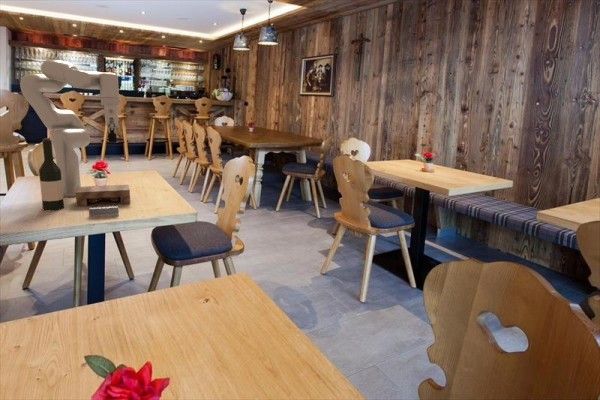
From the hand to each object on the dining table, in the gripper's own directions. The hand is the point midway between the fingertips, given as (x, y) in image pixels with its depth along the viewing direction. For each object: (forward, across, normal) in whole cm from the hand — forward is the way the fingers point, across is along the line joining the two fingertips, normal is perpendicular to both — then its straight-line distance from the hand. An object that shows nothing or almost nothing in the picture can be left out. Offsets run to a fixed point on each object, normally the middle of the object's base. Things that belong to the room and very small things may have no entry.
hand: (112, 141), depth 198 cm
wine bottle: (+28, -6, +25) cm, 38 cm away
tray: (+29, -17, +5) cm, 34 cm away
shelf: (+28, 0, +5) cm, 29 cm away
